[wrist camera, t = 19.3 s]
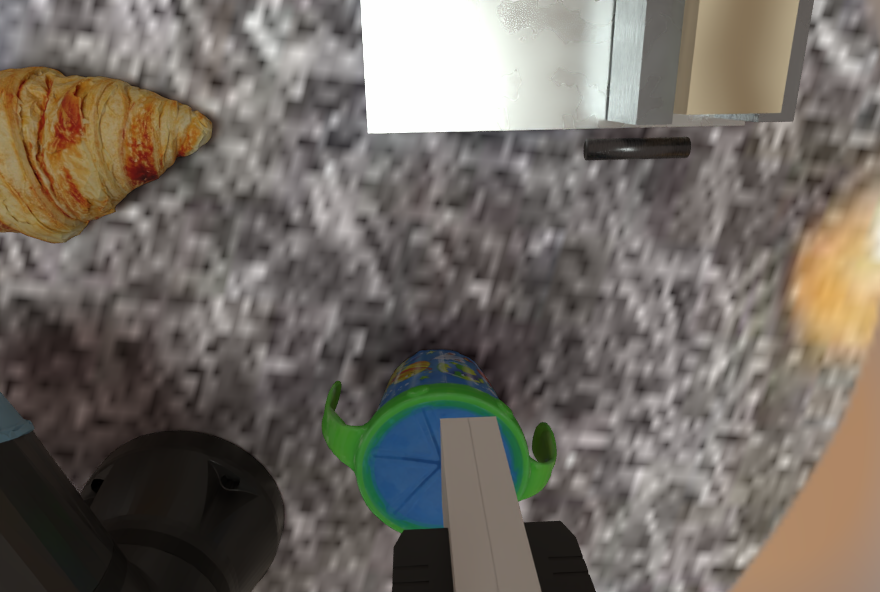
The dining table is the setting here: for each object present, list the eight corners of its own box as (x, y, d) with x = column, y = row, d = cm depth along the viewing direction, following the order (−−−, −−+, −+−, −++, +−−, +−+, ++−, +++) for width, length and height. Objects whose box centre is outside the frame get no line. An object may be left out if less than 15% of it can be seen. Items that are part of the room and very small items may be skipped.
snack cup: (316, 419, 46) (291, 508, 36) (358, 296, 42) (344, 357, 33) (505, 474, 48) (529, 571, 38) (558, 361, 45) (598, 435, 35)
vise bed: (369, 131, 39) (368, 133, 37) (360, -43, 35) (358, -49, 34) (732, 124, 40) (744, 125, 38) (756, -47, 36) (770, -53, 35)
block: (638, 109, 38) (686, 114, 31) (650, -34, 35) (706, -62, 28) (716, 108, 38) (780, 112, 31) (734, -35, 35) (809, -62, 29)
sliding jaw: (574, 155, 38) (597, 164, 33) (585, -42, 34) (612, -63, 30) (666, 153, 38) (702, 162, 34) (687, -43, 35) (731, -64, 30)
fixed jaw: (714, 117, 38) (758, 122, 33) (735, -43, 35) (786, -63, 30) (745, 117, 38) (793, 121, 33) (769, -43, 35) (824, -63, 30)
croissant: (221, 77, 41) (164, 3, 33) (242, 218, 39) (188, 175, 31) (-87, 137, 41) (-218, 77, 33) (-78, 280, 39) (-213, 254, 31)
